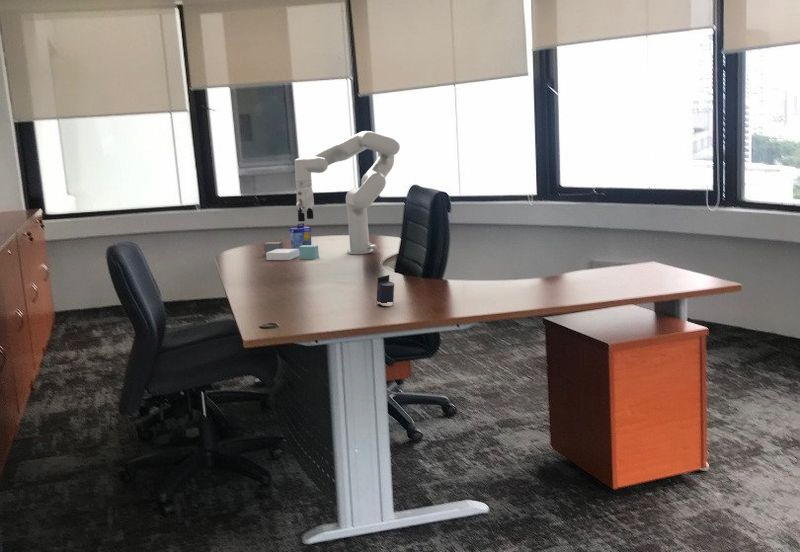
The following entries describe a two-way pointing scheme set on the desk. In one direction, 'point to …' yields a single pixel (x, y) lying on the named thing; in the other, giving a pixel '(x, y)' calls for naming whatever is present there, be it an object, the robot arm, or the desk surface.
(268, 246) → the grey brick
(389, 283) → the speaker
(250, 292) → the desk surface
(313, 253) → the teal brick
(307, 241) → the ink cartridge box
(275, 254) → the white block
